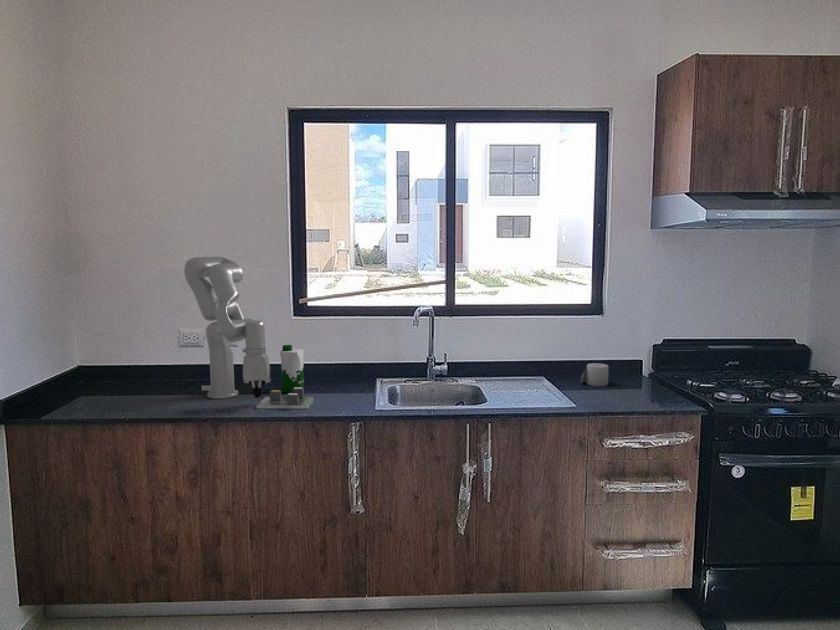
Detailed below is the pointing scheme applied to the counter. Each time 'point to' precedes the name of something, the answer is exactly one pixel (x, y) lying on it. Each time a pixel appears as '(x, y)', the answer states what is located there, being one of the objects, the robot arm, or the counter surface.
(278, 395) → the block
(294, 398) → the breaker front
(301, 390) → the breaker back
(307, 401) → the panel
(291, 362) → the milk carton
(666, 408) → the counter surface
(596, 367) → the toilet tissue
